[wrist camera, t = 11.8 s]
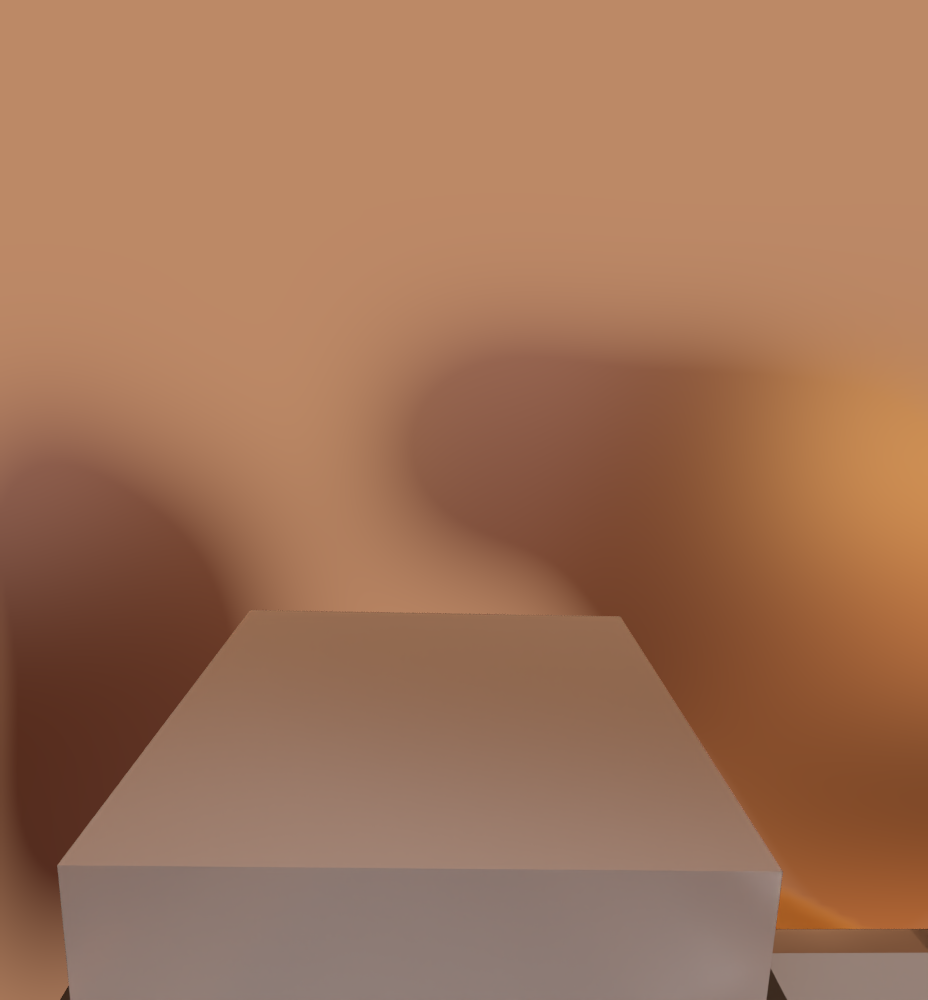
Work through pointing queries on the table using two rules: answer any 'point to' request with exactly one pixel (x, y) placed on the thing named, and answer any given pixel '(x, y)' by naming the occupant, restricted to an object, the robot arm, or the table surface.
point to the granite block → (422, 826)
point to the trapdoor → (852, 976)
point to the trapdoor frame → (850, 941)
